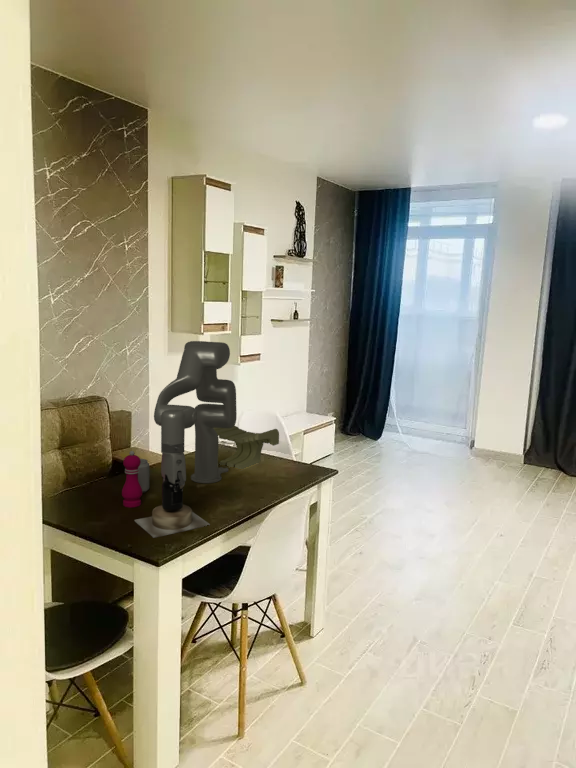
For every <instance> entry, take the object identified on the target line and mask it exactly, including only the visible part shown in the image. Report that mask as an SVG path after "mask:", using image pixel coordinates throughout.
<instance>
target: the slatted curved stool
mask: <svg viewBox="0 0 576 768" xmlns="http://www.w3.org/2000/svg"><path fill="white" fill-rule="evenodd" d="M214 430H215V431H216V433H217V435H218V438H219V440H225V441H226V440H227V441H230V442H234V444H235V446H236V451H235V453H234V454H232V455H231V456H229V457H227V458H225V459H223V460H220V461H219V462H218V465H219V464H220V465H219V466H221V465H227V466H229V467H228V468H230V467H235V468H238V469H244V468H246V467H249V466H251V465H254V464H256V463H259V462H260V463H261V457H262V452H263V447H264V444H269V445H271V446H276V445H279V444H280V432H279V431H280V430H278V429H277V428H273V429H270V430H267V431H264V432H263V431H262V432H257V433H255V432H251V431H247V430H244V429H242V428H239V426H237V425H235V426H234V427H232V428H214ZM260 463H259V464H260ZM227 466H226V467H227ZM235 468H234V469H235ZM249 468H250V467H249ZM238 469H237V470H238ZM244 470H245V469H244Z"/></svg>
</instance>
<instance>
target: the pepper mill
mask: <svg viewBox="0 0 576 768" xmlns="http://www.w3.org/2000/svg"><path fill="white" fill-rule="evenodd" d="M140 459H141V458H140V457H139V456H138V455H135V451H134V450H130V451H129V455H127V456H125V457H124V458H123V463H122V464H123V466H124V473H125V476H126V477H125V478H126V479H125V483H124V484H123V487H122V489H121V496H122V498H123V500H122V505H123V507H125V508H138V507H139V506H141V504H142V499H141V497H142V496H143V493H142V488H141V486H140V484H139V481H138V473H139V468H138V467H139V466H140V464H141V461H140Z"/></svg>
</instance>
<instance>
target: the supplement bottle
mask: <svg viewBox="0 0 576 768" xmlns="http://www.w3.org/2000/svg"><path fill="white" fill-rule="evenodd" d="M175 482H179V480H176V481H175ZM178 485H179V484H176V487H177V486H178ZM173 492H174V489H173V484H172V483H171V482H169V480H168V477H167V475H166V474H165V481H164V482H163V481H162V485H161V505H162V508H163V509H164V510H166V511H177V510H180V509H181V508H182V507H183V505H184V490H183V491H182V502H180V503H175V504H174V503H173Z"/></svg>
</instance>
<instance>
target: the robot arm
mask: <svg viewBox="0 0 576 768" xmlns="http://www.w3.org/2000/svg"><path fill="white" fill-rule="evenodd" d="M183 348H184V349H183V351H182V356H181V360H180V363H179V367H178V371H177V375H176V378H175V379H174V380H172V381H171V382H170V383H168V384H167V385H166V386H165V387H164V388H163V389H162V390H161V391H160V392H159V394H158V396H157V401H156V404H155V407H154V412H153V419H154V422H155V424H156V425H158V427H159V426H160V428H161V429H160V430H161V431H160V438H161V439H160V440H161V441H160V443H161V444H160V452H161V459H160V460H161V463H160V464H161V465H160V466H161V467H160V470H161V471H160V472H161V473H160V474H161V478H162V483H163V482H164V481H165V474H166V475H167V477H168V480H169V482H171V483H172V484H173V489H174V492H173V503H174V504H175V503H180V502H182V491H183V492H184V487H185V485H186V483H185V482H186V481H187V467H186V457H185V456H186V455H185V436H186V435H185V429H190V428H192V427H193V426H194V431H195V432H194V440H195V442H194V473H192V474H191V475H190V480H191V481H192V482H195V483H198V484H213V483H217V482H220V481H221V480H222V479H223V478H222V473H228V472H229V467H223V466H220V467H219V443H220V442H219V441H220V438H219V436H218V435H217V433H216V431H215V430H214V428H232V427H234V426H236V425H237V424H236V423H237V389H236V385H235V383H234V382H233V380H229V379H221V378H220V379H219V378H218V376H217V375H218V374H217V372H218V371H217V370H219V369H221V368H224V366H225V365H227V364H228V362H229V360H230V355H231V349H230V346H229V345H228V343H227V342H220V341H219V342H218V341H206V340H205V341H203V340H201V341H200V340H191V341H188V342H186V343H185V344H184V347H183ZM193 391H195V394H196V399H197V400H198V401H199V402H202V403H200V404H197V405H196V406H195V407H193V406H190V405H181V404H169V403H170V402H171V401H172V400H173V399H175V398H177V397H179V396H182V395H185V394H188V393H191V392H193ZM176 480H179V482H175V481H176ZM176 484H179V485H178V486H177V487H176Z"/></svg>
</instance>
